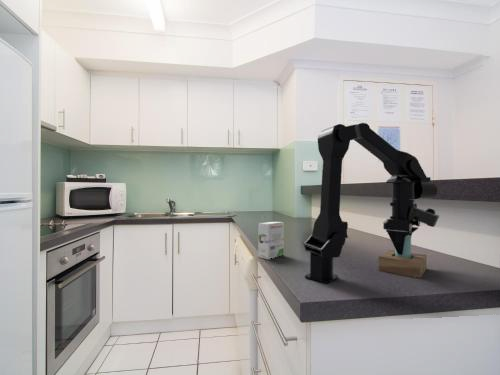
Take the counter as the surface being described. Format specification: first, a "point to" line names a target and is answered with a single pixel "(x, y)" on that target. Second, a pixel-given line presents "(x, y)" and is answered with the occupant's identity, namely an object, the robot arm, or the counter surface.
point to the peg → (406, 248)
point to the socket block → (403, 264)
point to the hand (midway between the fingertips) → (402, 252)
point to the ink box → (271, 240)
